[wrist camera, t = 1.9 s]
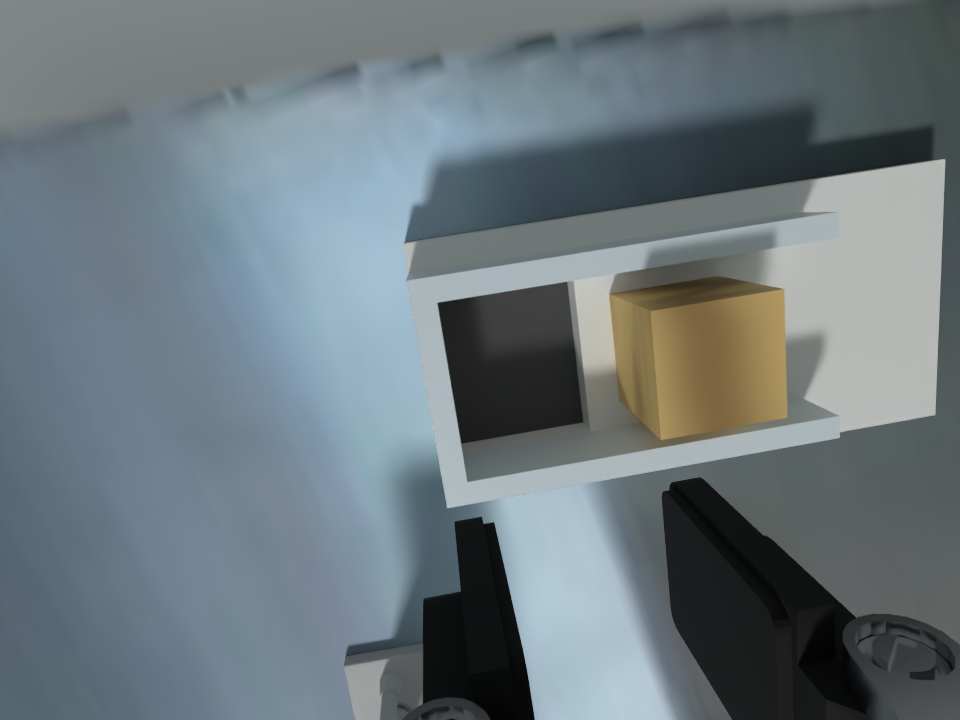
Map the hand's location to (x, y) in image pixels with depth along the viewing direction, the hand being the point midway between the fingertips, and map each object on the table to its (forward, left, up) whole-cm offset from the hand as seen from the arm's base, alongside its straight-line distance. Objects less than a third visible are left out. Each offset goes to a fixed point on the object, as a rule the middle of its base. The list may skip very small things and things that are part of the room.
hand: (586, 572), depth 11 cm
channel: (-9, 0, -17) cm, 19 cm away
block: (-8, 0, -16) cm, 18 cm away
